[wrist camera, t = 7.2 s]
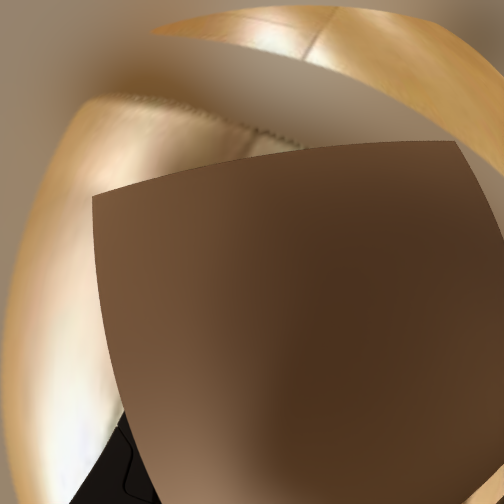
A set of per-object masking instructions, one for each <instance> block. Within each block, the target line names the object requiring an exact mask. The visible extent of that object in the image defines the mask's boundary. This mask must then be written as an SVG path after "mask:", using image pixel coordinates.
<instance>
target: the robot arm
mask: <svg viewBox="0 0 504 504" xmlns="http://www.w3.org/2000/svg"><path fill="white" fill-rule="evenodd" d="M69 504H162V502H161V500H160V498H159V496H158V494H157V492H156V490H155V488H154V486H153V484H152V481H151V479H150V477H149V475H148V472H147V470H146V468H145V465H144V463H143V461H142V458H141V456H140V453H139V450H138V448H137V445H136V443H135V440H134V437H133V434H132V432H131V429H130V426H129V423H128V420H127V417H126V414H125V410H124V412H123V414H122V416H121V418H120V420H119V422H118V423H117V426H116V427H115V429H114V431H113V433H112V435H111V437H110V439H109V441H108V442H107V444H106V446H105V448H104V450H103V452H102V453H101V455H100V457H99V458H98V460H97V461H96V463H95V465H94V466H93V468H92V470H91V471H90V473H89V474H88V476H87V477H86V479H85V480H84V482H83V483H82V485H81V486H80V488H79V489H78V491H77V493H76V494H75V496H74V497H73V499H72V500H71V502H70V503H69ZM496 504H504V496H503V497H502V498H501V499H500V500H499V501H498V502H497V503H496Z"/></svg>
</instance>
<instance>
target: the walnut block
mask: <svg viewBox="0 0 504 504" xmlns="http://www.w3.org/2000/svg"><path fill="white" fill-rule="evenodd" d="M92 212H93V238H94V253H95V264H96V274H97V283H98V291H99V299H100V306H101V312H102V318H103V324H104V329H105V335H106V340H107V345H108V349H109V354H110V358H111V363H112V367H113V371H114V375H115V379H116V383H117V386H118V390H119V394H120V397H121V401H122V404H123V407H124V410H125V414H126V417H127V420H128V423H129V426H130V429H131V432H132V434H133V437H134V440H135V443H136V445H137V448H138V450H139V453H140V456H141V458H142V461H143V463H144V465H145V468H146V470H147V472H148V475H149V477H150V479H151V481H152V484H153V486H154V488H155V490H156V492H157V494H158V496H159V498H160V500H161V502H162V504H461V503H462V502H464V501H465V500H466V499H467V498H468V497H470V496H471V495H472V494H473V493H474V492H475V491H476V490H477V489H479V488H480V487H481V486H482V485H483V484H484V483H485V482H486V481H487V480H488V479H489V478H490V477H491V476H492V475H493V474H494V473H495V472H496V471H497V470H498V469H499V468H500V467H501V466H502V465H503V464H504V240H503V237H502V235H501V232H500V229H499V227H498V224H497V222H496V220H495V217H494V215H493V213H492V210H491V208H490V206H489V204H488V201H487V199H486V197H485V195H484V193H483V191H482V189H481V187H480V185H479V183H478V181H477V179H476V177H475V175H474V173H473V172H472V170H471V168H470V166H469V164H468V163H467V161H466V159H465V157H464V155H463V154H462V152H461V150H460V149H459V147H458V146H457V144H456V142H455V141H401V142H379V143H364V144H351V145H340V146H331V147H321V148H312V149H304V150H296V151H289V152H282V153H275V154H269V155H262V156H256V157H251V158H245V159H239V160H234V161H229V162H224V163H219V164H214V165H209V166H204V167H200V168H195V169H191V170H186V171H182V172H178V173H174V174H169V175H165V176H161V177H158V178H154V179H150V180H146V181H142V182H139V183H135V184H132V185H128V186H125V187H121V188H118V189H114V190H111V191H108V192H105V193H101V194H98V195H95V196H92Z"/></svg>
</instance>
